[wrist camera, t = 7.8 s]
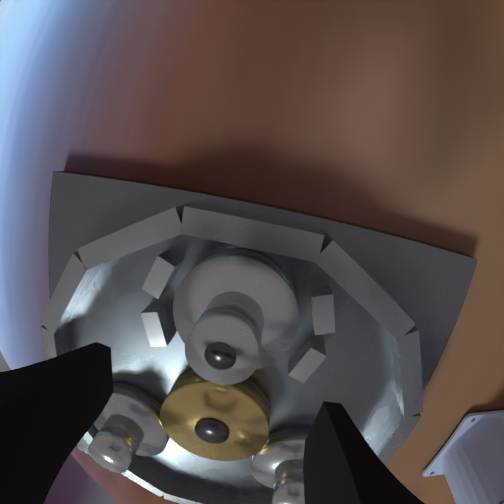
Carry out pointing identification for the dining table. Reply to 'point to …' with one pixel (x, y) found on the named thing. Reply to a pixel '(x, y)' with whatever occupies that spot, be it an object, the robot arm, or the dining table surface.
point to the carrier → (262, 380)
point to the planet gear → (235, 315)
